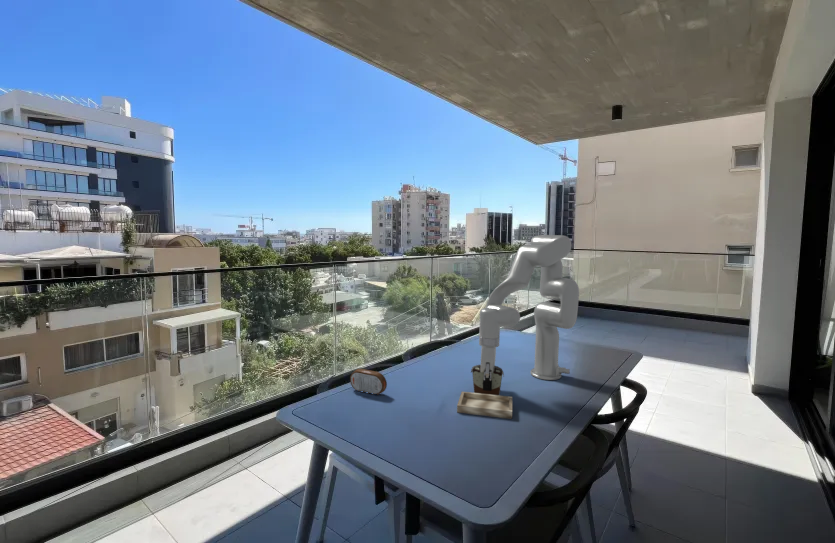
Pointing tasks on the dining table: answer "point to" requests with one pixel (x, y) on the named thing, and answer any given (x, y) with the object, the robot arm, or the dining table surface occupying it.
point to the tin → (368, 381)
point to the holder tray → (485, 405)
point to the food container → (479, 377)
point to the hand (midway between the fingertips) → (487, 385)
